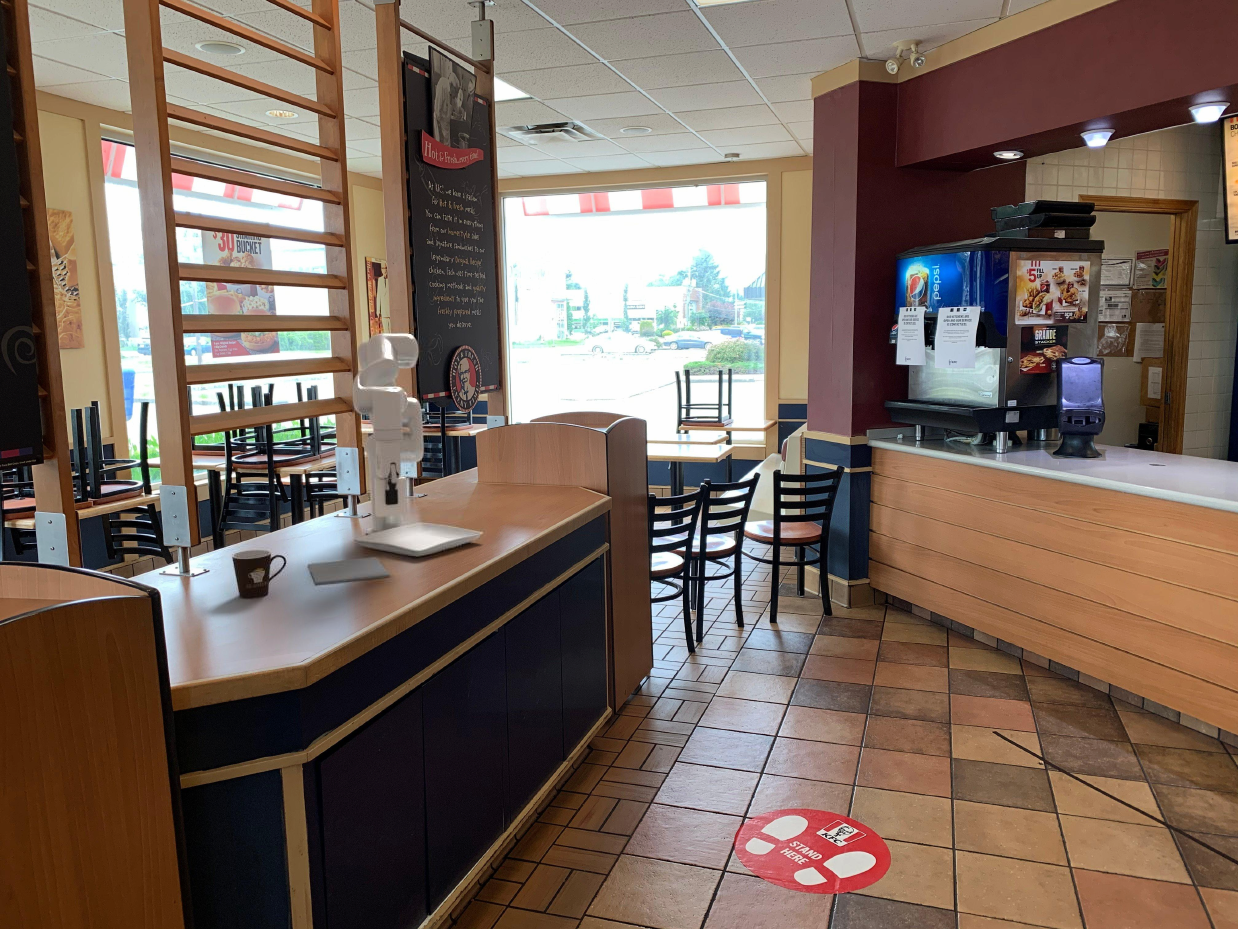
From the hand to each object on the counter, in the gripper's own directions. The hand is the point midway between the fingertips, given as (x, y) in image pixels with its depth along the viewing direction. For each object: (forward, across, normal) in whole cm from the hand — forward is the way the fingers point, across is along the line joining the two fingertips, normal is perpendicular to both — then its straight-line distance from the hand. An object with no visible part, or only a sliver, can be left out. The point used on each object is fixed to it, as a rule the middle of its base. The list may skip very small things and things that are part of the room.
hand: (390, 502), depth 236 cm
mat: (+17, +2, -12) cm, 21 cm away
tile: (+3, 0, 0) cm, 3 cm away
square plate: (+18, -19, +12) cm, 28 cm away
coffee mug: (+17, +14, -34) cm, 41 cm away
